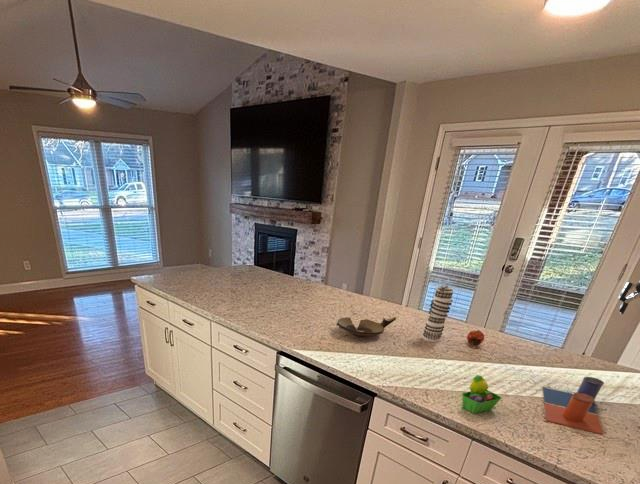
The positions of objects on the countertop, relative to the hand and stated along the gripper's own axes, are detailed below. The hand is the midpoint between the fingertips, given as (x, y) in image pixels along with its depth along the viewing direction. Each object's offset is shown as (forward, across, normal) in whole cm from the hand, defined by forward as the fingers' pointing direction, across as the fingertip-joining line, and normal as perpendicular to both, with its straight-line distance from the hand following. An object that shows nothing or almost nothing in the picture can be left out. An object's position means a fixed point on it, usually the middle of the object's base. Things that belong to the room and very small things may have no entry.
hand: (636, 315), depth 144 cm
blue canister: (+30, -5, -12) cm, 32 cm away
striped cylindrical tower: (+30, -65, +25) cm, 76 cm away
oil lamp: (+30, -95, +12) cm, 100 cm away
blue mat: (+30, -10, -15) cm, 35 cm away
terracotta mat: (+30, -10, -30) cm, 43 cm away
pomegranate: (+30, -46, +28) cm, 62 cm away
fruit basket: (+30, -40, -40) cm, 64 cm away
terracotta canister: (+30, -10, -30) cm, 43 cm away
